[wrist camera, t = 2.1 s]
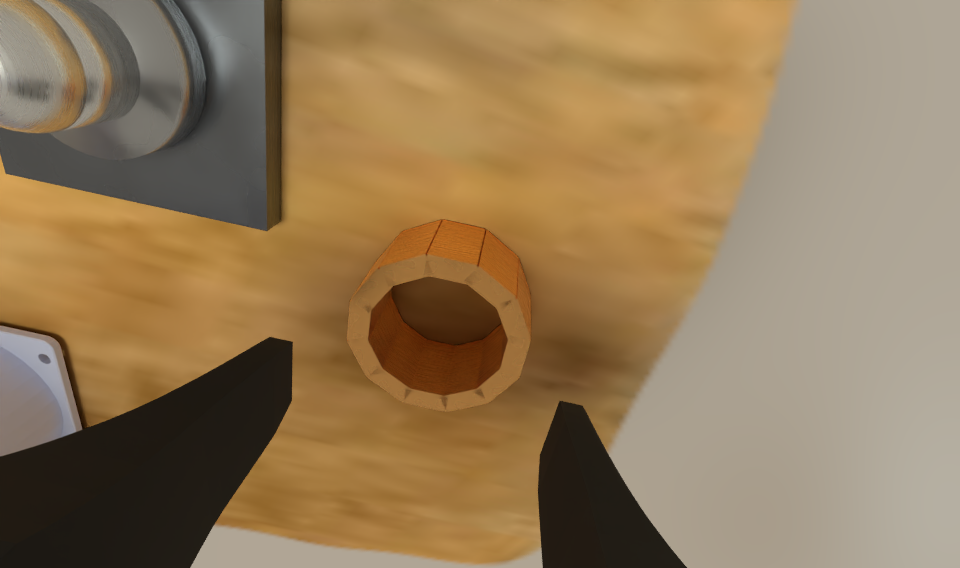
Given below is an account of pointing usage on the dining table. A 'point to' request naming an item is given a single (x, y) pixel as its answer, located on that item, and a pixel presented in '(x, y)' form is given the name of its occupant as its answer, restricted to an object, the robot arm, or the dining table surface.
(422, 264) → the wooden ring
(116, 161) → the stand
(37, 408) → the robot arm
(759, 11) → the dining table surface
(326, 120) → the dining table surface
